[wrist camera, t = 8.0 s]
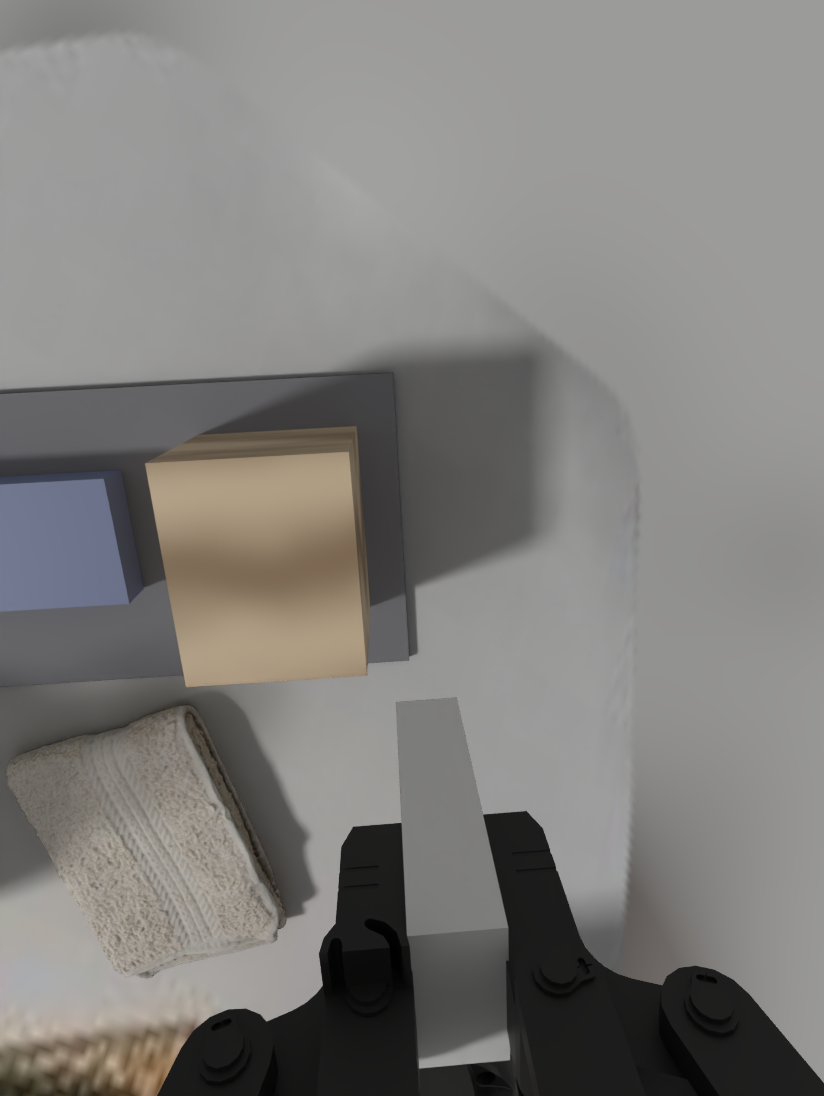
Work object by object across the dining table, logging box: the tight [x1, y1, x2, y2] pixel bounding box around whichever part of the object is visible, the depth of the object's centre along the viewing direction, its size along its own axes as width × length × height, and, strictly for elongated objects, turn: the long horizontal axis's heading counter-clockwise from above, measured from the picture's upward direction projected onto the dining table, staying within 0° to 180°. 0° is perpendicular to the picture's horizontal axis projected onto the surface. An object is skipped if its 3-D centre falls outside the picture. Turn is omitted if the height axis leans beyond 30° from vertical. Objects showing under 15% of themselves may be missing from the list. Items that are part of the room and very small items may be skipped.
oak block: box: [145, 426, 370, 687], centre depth 31 cm, size 10×8×8 cm
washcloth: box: [6, 705, 286, 978], centre depth 40 cm, size 12×18×3 cm, turn 17°
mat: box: [0, 373, 409, 687], centre depth 34 cm, size 16×24×1 cm, turn 93°
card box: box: [0, 470, 144, 612], centre depth 33 cm, size 6×9×2 cm
